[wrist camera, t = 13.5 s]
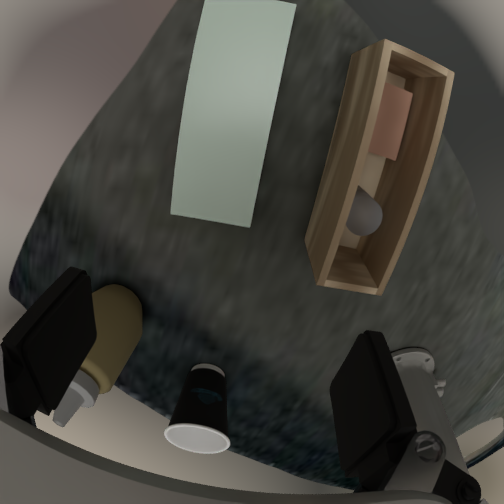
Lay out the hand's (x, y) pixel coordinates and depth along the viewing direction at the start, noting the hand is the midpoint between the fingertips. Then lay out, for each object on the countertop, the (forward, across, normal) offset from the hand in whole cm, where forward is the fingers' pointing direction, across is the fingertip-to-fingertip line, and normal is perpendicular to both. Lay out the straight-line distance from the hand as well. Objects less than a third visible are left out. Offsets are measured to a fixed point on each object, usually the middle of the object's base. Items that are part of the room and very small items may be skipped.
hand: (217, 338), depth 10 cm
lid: (+20, +3, -7) cm, 21 cm away
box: (+20, -9, -5) cm, 23 cm away
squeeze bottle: (+20, +13, +17) cm, 29 cm away
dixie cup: (+21, +1, +27) cm, 34 cm away
